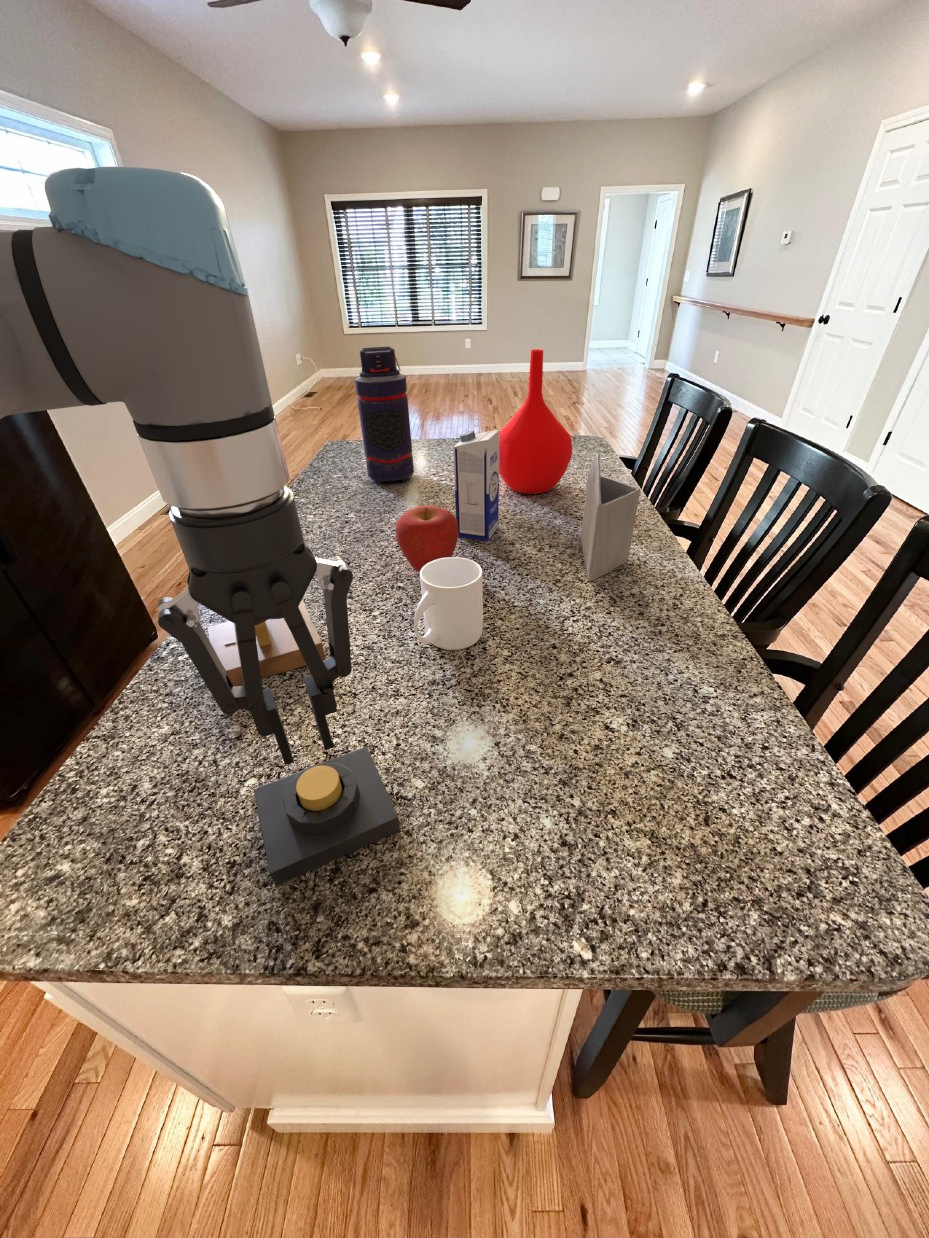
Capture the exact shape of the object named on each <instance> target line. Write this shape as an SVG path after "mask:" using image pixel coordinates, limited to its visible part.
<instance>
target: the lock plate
mask: <svg viewBox="0 0 929 1238" xmlns="http://www.w3.org/2000/svg"><path fill="white" fill-rule="evenodd" d="M298 607H299V609H300V611H301V614H302V616H303V618H304V620H305V622H306V625H307V627H308V629H309V631H310V634H311V636H312V638H313V640H314V642H315V645H316V647H317V649H318V651H319V654H320V656H321V658H322V660H323V661H324V660H326V655H325V651H324V647H323V642H322V640H321V638H320V636H319V633H318V631H317V629H316V627H315V624H314V622H313V620H312V618H311V616H310V614H309V611H308V609H307V606H306V603H305V602H304V601H301V602H300V604H299V606H298ZM265 622H266V626H267V629H268V633H269V636H270V640H271V644H269V645H266V646H262V647H259V644H258V640H257V637H256V644H257V652H258V659H259V666H260V674H261V680H263V679H266V678H270V677H273V676H276V675H281V674H283V673H286V672H289V671H291V670H292V671H293V670H296V669H299V668H302V667H305V666H306V667H307V664H306V662H305V660H304V658H303V656H302V654H301V652H300V650H299V648H298V646H297V643H296V641H295V639H294V637H293V635H292V633H291V631H290V630H289V628H288V626H287V623H286V621H285V619H284V618H281V619H269V620H266V621H265ZM206 629H207V630H206V631H207V637H208V639H209V641H210V642H211V644H212V646H213V648H214V650H215V652H216V653H217V655H218V657H219V659H220V661H221V663H222V664H223V666H224V668H225V670H226V672H227V674H228V675H229V677H230V679H231V681H232V683H233V685H234V687H236V686H244V685H243V678H242V671H241V665H240V659H239V653H238V646H237V640H236V634H235V628H234V623H233V622H231V621H229V620H227V621H224V622H220V623H216V624H213V625H209V626H207V627H206Z"/></svg>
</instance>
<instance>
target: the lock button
mask: <svg viewBox="0 0 929 1238" xmlns="http://www.w3.org/2000/svg"><path fill="white" fill-rule="evenodd" d="M296 791H297V794H298V797H299V799H300V802H301V804H302V806H303V807H304V808H306V809H307V810H310V811H322V810H325V809H328V808H330V807H331V806H333V805H334V804H335V803H336V802H337V801H338V799H339V798H340V795H341V792H342V787H341V783H340V779H339V775H338V773H337V771H336V770H335V769H333V768H332V767H329V766H316V767H313V768H311V769H309V770H307V771H306V772H304V773H303V774H302V775H301V776H300V778H299V779H298V781H297V785H296Z"/></svg>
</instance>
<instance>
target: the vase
mask: <svg viewBox="0 0 929 1238" xmlns="http://www.w3.org/2000/svg"><path fill="white" fill-rule="evenodd" d="M543 374H544V349H543V348H541V349H540V348H535V349H530V357H529V372H528V393H527V396H526V398H525V400H524V403H523V404H522V406H521V407H520V408H519V409H518V410H517V412H516V413H515V414H514V415H513V416H512V417H511V419H510V420H509V421H508V422H507V423H506V424H505V425H504V426H503V427H502V429H500V430H499V477H501V479H502V480H503V482H504V483H505V485H506V486H508V487H509V488H510V489H511V490H512V491H514V492H517V493H520V494H526V495H537V494H543V493H546V492H549V491H550V490H551V489H553V488H554V487H555V486H557V484H558V483H559V482H560V481H561V479H562V478H563V476H564V475H565V473H566V471H567V469H568V467H569V464H570V462H571V460H572V457H573V456H572V455H573V443H572V437H571V434H570V432H569V431H568V430H567V429H566V428H565V427H564V426H563V425H562V424H561V422H560V421H559V420H558V419H557V417H556V416H555V415H554V414H553V412H552V411H551V409H550V408H549V407H548V405H547V404H546V402H545V399H544V396H543V381H544V380H543V376H544V375H543Z"/></svg>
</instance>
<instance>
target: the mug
mask: <svg viewBox="0 0 929 1238" xmlns="http://www.w3.org/2000/svg"><path fill="white" fill-rule="evenodd" d="M419 580H420V592H421V599H420V600H419V602H418V604H417V606H416V609H415V612H414V616H413V629H414V634H415V637H416V640H417V641H418V642H419V643H420V644H424V645H428V644H432V645H433V646H435V647H437V648H439V649H442V650H447V651H460V650H464V649H467V648H470V647H471V646H473V645H474V644H476V643H477V642H478V641H479V640H480V638H482V635H483V631H484V630H483V629H484V611H483V609H484V608H483V607H484V605H483V604H484V603H483V602H484V601H483V600H484V599H483V598H484V597H483V595H484V593H483V569H482V567H481V565H480V564H479V563H478V562H476V561H475V560H472V559H469V558H465V557H459V556H458V557H457V556H451V557H447V558H441V559H437V560H434V561H431V562H429V563H427V564H426V565H425V566H424V567H423V568H422V569H421V571H420V572H419ZM422 615H423V624H424V625H423V626H424V632H425V634H424V635H421V634H420V633H419V629H418V627H419V622H420V619H421V618H422Z"/></svg>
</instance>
